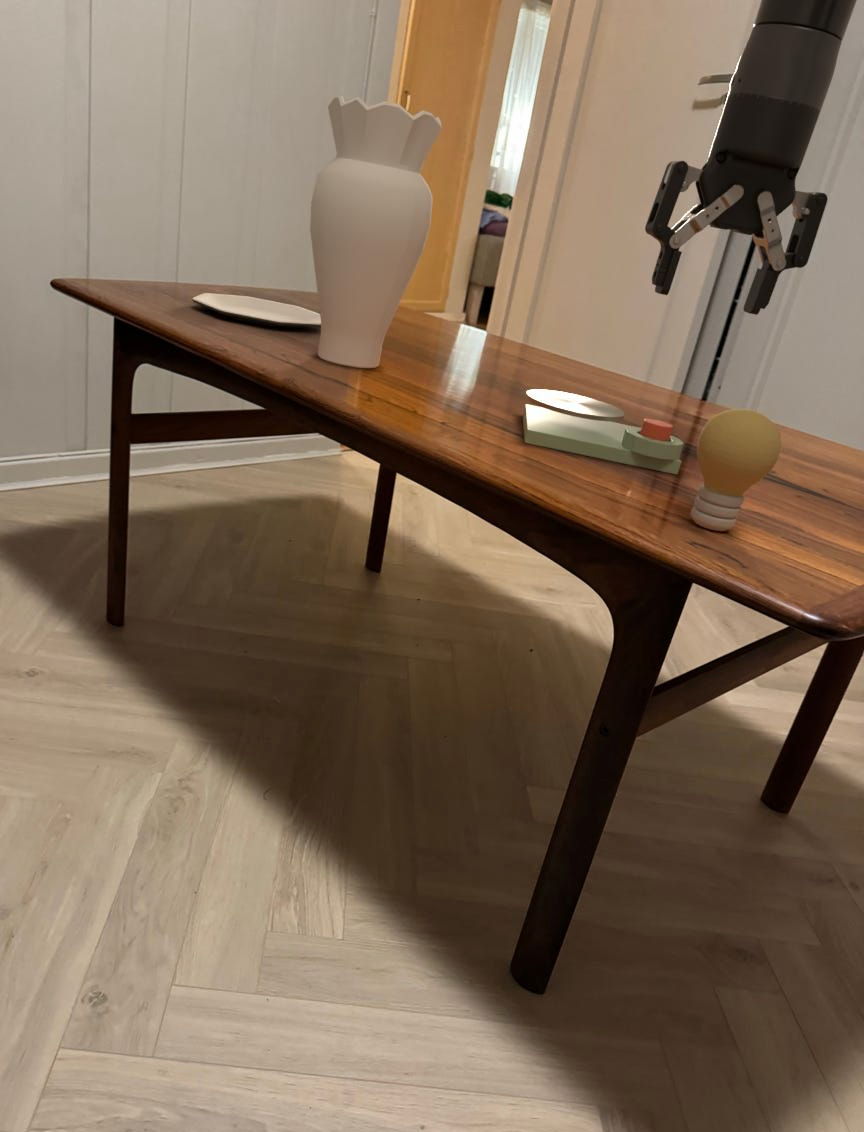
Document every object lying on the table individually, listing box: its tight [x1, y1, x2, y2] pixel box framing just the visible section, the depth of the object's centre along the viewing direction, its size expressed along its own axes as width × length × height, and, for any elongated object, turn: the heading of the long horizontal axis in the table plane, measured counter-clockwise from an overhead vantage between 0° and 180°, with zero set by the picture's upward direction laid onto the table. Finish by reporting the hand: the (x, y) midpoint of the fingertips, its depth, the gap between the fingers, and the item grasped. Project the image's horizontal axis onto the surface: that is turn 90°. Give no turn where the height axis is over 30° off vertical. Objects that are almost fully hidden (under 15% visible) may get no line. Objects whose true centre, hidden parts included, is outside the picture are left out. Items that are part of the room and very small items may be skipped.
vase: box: [309, 94, 443, 369], centre depth 111 cm, size 15×15×29 cm
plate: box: [191, 292, 321, 329], centre depth 137 cm, size 20×20×2 cm
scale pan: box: [525, 389, 626, 422], centre depth 100 cm, size 11×11×1 cm
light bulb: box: [690, 408, 782, 532], centre depth 75 cm, size 6×6×10 cm
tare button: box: [640, 418, 674, 442], centre depth 93 cm, size 3×3×2 cm
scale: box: [522, 403, 685, 476], centre depth 98 cm, size 16×15×3 cm
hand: (706, 303), depth 82 cm, fingers open, 8 cm apart
